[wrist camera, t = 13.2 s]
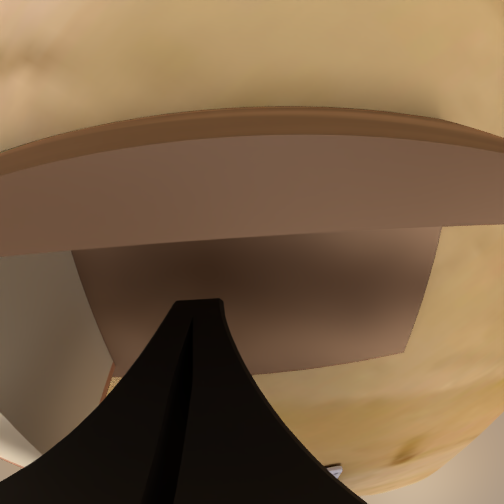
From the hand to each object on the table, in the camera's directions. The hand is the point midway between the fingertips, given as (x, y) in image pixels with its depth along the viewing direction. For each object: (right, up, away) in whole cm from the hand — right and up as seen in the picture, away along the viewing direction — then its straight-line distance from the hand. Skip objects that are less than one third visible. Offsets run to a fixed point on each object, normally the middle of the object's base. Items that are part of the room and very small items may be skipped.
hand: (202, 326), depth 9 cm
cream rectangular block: (-7, +1, 0) cm, 7 cm away
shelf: (-3, +2, +1) cm, 4 cm away
